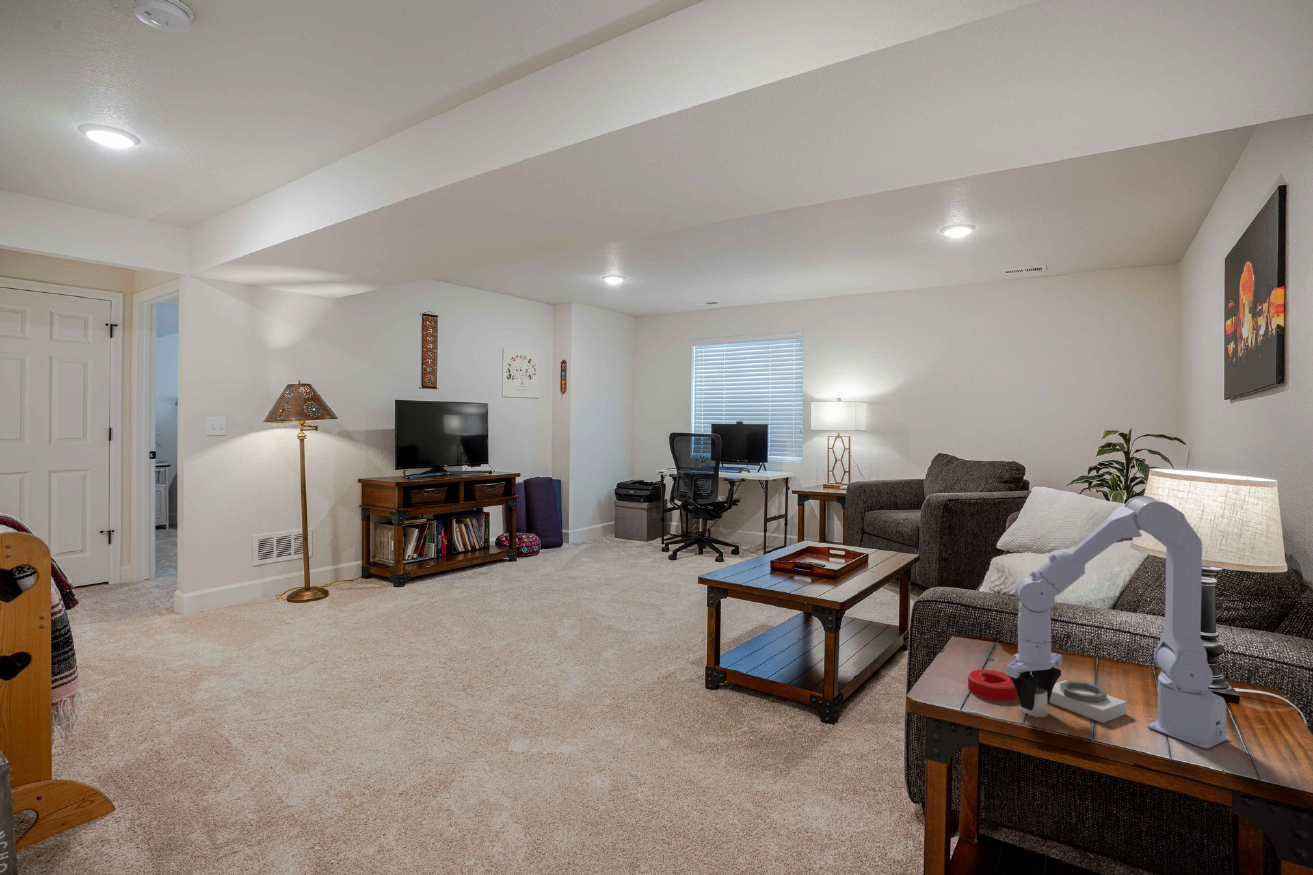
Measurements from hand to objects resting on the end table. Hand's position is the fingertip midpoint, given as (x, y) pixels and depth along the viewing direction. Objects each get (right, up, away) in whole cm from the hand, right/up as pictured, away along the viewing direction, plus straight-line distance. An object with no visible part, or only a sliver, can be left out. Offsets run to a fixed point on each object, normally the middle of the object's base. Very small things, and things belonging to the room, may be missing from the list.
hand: (1034, 705), depth 130 cm
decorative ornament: (-3, -2, +11) cm, 11 cm away
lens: (0, -1, 0) cm, 1 cm away
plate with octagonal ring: (+11, -1, +2) cm, 11 cm away
